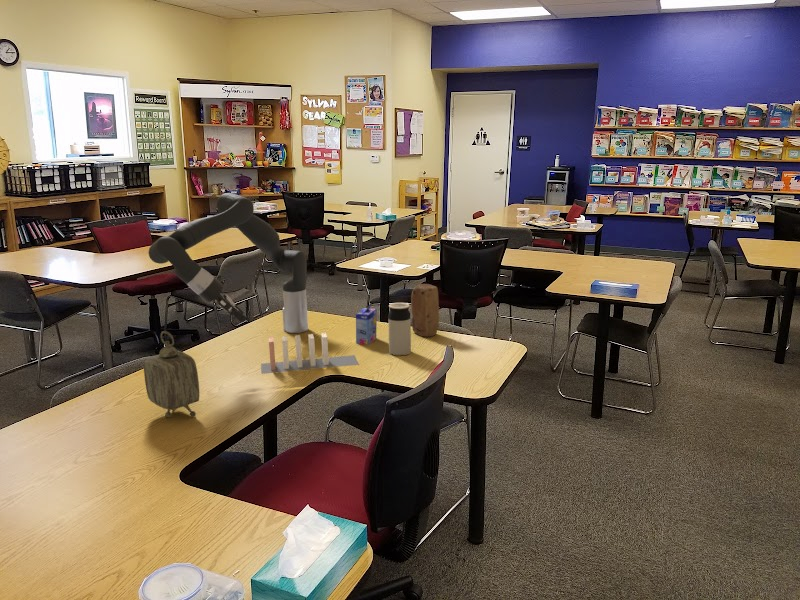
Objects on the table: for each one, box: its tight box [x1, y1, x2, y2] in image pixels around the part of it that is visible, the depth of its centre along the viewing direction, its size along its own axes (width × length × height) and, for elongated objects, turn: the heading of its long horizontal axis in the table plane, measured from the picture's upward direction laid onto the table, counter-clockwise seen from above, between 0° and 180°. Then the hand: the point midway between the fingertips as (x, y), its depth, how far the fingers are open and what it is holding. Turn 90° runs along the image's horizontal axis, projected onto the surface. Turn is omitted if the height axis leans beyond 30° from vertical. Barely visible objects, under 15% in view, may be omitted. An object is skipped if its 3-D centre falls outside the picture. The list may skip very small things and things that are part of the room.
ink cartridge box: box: [355, 304, 378, 345], centre depth 240 cm, size 10×6×14 cm, turn 163°
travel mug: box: [388, 302, 412, 356], centre depth 226 cm, size 8×8×18 cm
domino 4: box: [307, 333, 316, 366], centre depth 215 cm, size 2×5×10 cm, turn 13°
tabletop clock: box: [143, 330, 200, 419], centre depth 176 cm, size 14×9×25 cm, turn 48°
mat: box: [260, 354, 360, 375], centre depth 216 cm, size 33×10×1 cm, turn 103°
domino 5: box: [320, 332, 329, 365], centre depth 216 cm, size 2×5×10 cm, turn 13°
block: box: [410, 283, 440, 338], centre depth 247 cm, size 11×8×20 cm
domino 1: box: [268, 337, 276, 370], centre depth 212 cm, size 2×5×10 cm, turn 13°
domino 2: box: [281, 335, 290, 369], centre depth 213 cm, size 2×5×10 cm, turn 13°
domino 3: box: [294, 334, 303, 368], centre depth 214 cm, size 2×5×10 cm, turn 13°
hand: (243, 317), depth 205 cm, fingers open, 8 cm apart
